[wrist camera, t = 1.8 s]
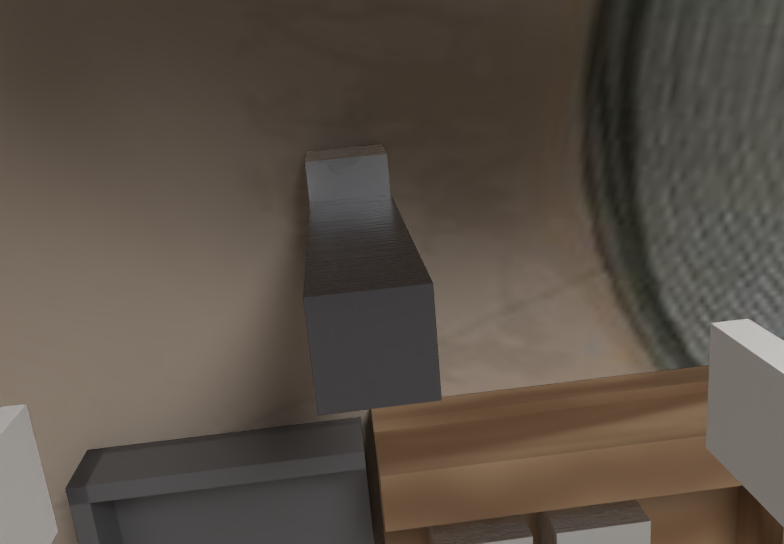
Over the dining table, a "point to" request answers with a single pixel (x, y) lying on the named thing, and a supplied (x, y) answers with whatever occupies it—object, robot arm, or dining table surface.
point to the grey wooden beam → (365, 289)
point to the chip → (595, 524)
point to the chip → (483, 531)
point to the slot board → (565, 459)
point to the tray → (228, 489)
